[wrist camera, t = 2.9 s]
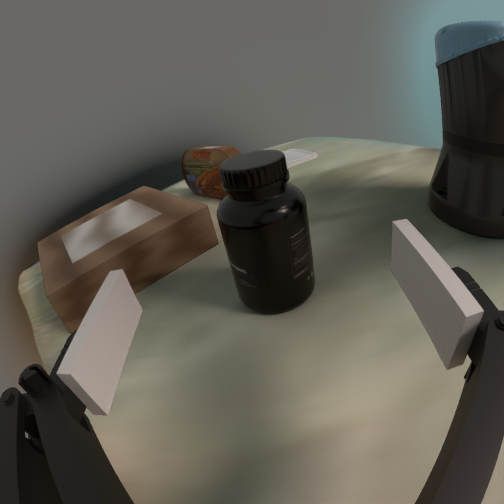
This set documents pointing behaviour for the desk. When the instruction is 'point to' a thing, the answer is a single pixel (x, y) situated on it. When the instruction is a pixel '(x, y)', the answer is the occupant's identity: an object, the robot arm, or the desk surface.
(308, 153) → the hard drive
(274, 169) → the supplement bottle
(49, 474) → the robot arm
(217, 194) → the tin
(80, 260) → the plinth
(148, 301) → the desk surface
